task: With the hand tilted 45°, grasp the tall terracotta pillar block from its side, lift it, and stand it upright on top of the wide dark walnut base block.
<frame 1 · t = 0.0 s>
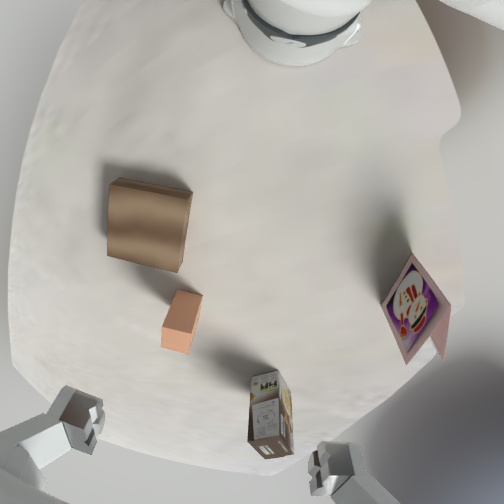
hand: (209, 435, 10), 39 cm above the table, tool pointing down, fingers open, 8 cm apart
greeting card: (408, 284, 52), on the table
pillar block: (188, 302, 55), on the table
coffee box: (271, 385, 65), on the table
base block: (151, 219, 49), on the table
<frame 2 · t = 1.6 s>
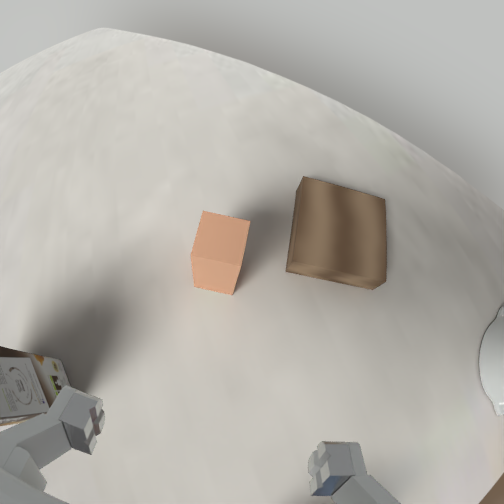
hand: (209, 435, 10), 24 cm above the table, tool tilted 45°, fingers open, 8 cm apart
pillar block: (217, 273, 38), on the table
coffee box: (41, 392, 29), on the table
base block: (333, 240, 42), on the table
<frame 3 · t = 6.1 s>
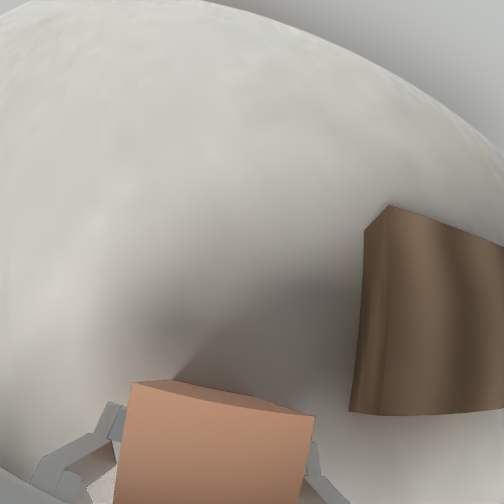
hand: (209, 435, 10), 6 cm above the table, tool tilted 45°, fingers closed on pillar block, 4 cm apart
pillar block: (205, 427, 15), on the table, touching gripper
base block: (428, 328, 20), on the table
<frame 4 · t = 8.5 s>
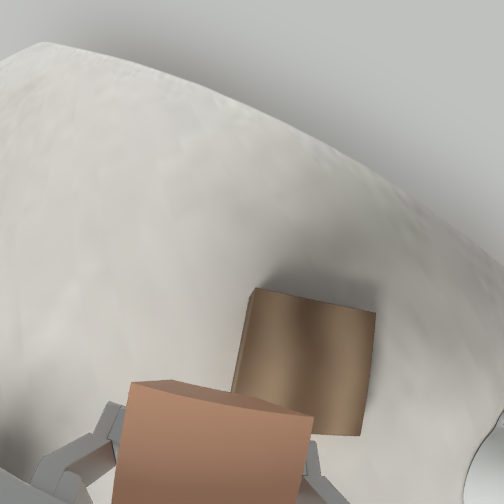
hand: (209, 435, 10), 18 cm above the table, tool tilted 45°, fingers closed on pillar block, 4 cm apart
pillar block: (204, 427, 15), point 13 cm above the table, touching gripper
base block: (296, 368, 30), on the table
when the fingers open (11 cm above the table, at t = 11.4 s): pillar block drops 2 cm, resting on base block.
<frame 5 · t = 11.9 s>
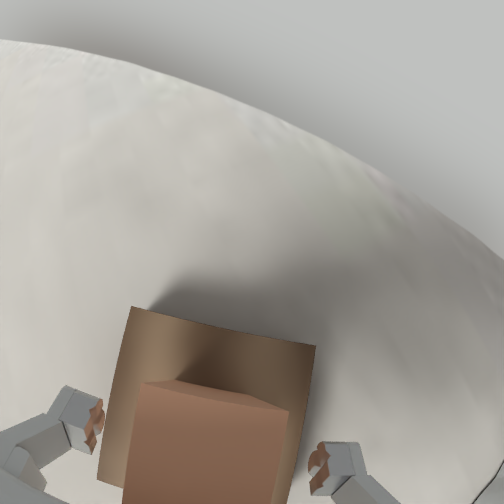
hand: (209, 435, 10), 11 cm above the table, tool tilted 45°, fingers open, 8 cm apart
pillar block: (204, 422, 17), point 3 cm above the table, touching base block
base block: (204, 414, 21), on the table, touching pillar block
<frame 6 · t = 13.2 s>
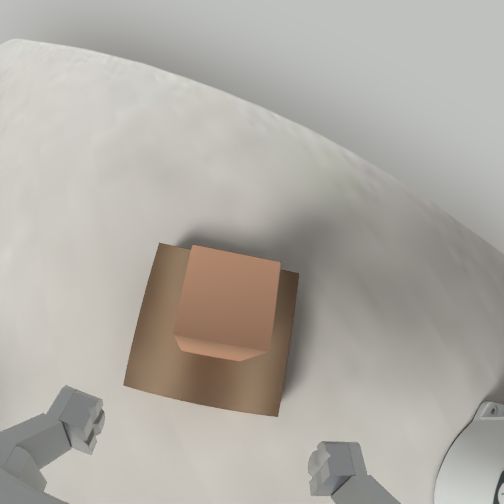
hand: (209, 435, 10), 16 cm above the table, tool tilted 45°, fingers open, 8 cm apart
pillar block: (215, 328, 24), point 3 cm above the table, touching base block
base block: (212, 335, 28), on the table, touching pillar block
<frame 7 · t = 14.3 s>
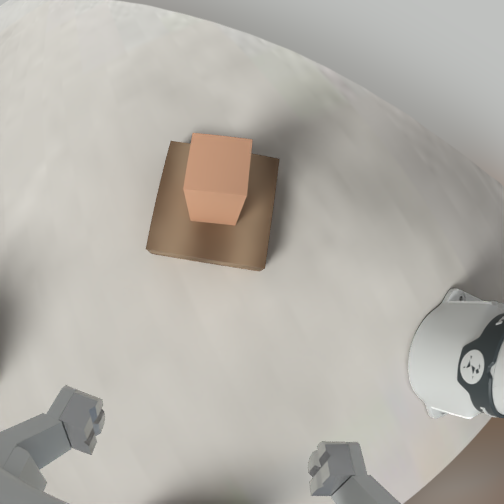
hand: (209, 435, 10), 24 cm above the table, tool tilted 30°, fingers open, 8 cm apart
pillar block: (215, 201, 32), point 4 cm above the table, touching base block
base block: (214, 211, 36), on the table, touching pillar block
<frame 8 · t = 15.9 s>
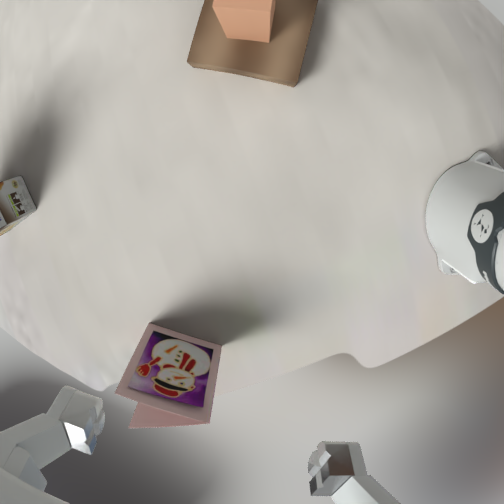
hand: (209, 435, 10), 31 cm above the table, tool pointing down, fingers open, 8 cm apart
greeting card: (181, 347, 47), on the table
pillar block: (251, 22, 27), point 4 cm above the table, touching base block
coffee box: (14, 204, 39), on the table
base block: (254, 32, 31), on the table, touching pillar block
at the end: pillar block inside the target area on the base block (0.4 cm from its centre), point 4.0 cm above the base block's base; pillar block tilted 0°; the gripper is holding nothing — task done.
